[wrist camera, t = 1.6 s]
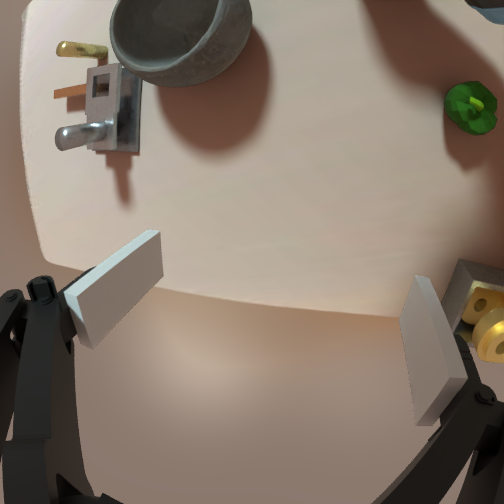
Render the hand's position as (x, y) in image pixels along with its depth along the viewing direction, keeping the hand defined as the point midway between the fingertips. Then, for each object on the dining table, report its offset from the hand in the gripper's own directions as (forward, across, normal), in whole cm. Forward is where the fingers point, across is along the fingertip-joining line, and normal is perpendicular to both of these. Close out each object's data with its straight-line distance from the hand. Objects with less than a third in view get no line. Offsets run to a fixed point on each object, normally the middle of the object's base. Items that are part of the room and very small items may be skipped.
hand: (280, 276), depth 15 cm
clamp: (+38, +42, -19) cm, 59 cm away
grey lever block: (+37, -45, +8) cm, 59 cm away
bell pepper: (+38, +23, +14) cm, 46 cm away
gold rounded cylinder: (+37, -44, +21) cm, 62 cm away
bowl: (+37, -21, +22) cm, 48 cm away
